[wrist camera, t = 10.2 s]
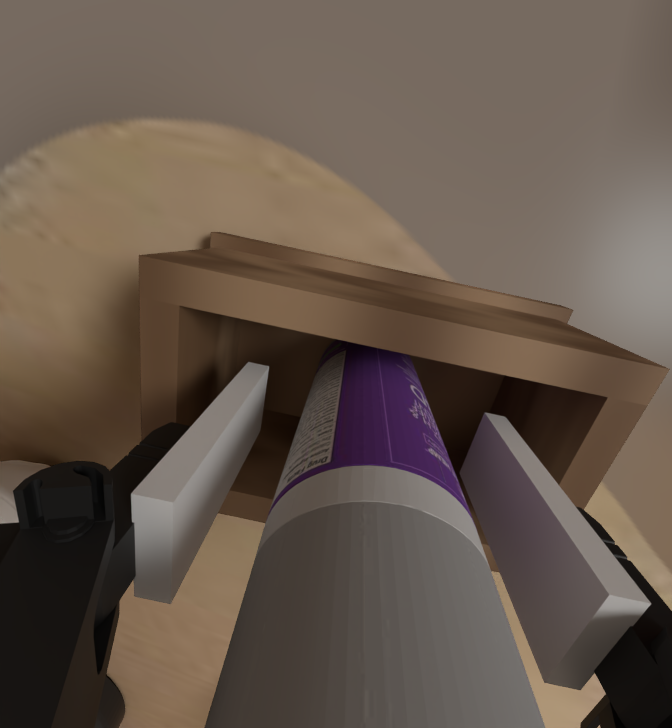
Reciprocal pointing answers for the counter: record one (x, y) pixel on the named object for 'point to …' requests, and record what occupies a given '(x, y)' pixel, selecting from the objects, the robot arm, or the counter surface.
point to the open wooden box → (385, 331)
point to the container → (371, 575)
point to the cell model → (13, 485)
